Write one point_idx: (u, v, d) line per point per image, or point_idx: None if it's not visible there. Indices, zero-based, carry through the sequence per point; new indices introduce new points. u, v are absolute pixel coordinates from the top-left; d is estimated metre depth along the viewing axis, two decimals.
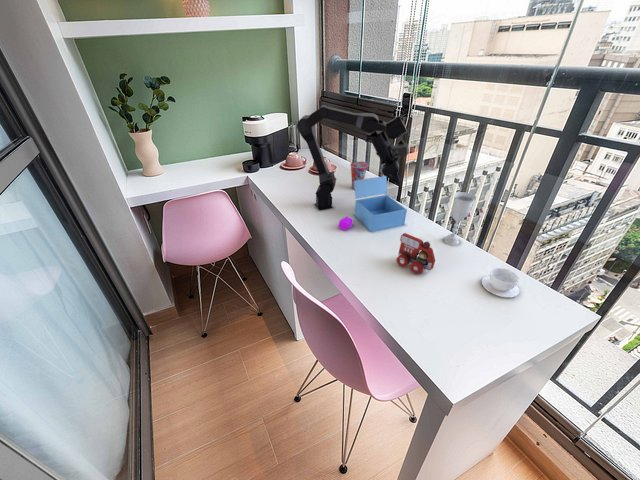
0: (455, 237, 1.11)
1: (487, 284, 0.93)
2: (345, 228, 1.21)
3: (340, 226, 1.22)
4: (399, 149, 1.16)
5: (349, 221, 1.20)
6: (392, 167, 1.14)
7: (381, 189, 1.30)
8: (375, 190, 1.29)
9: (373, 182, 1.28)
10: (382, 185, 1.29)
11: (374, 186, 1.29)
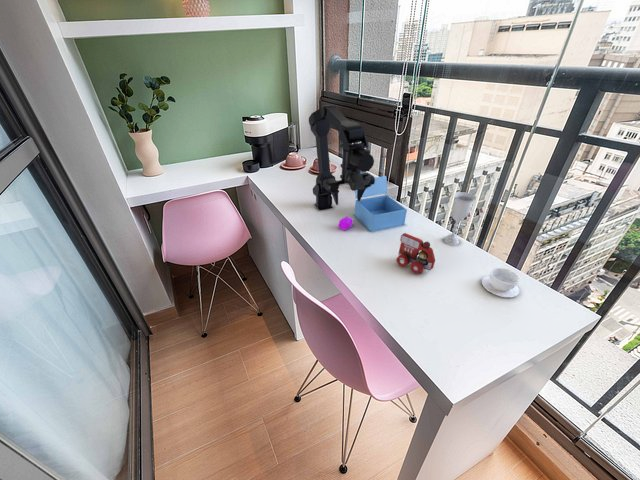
0: (455, 237, 1.11)
1: (487, 284, 0.93)
2: (345, 228, 1.21)
3: (340, 226, 1.22)
4: (350, 179, 1.06)
5: (349, 221, 1.20)
6: (326, 185, 1.09)
7: (381, 189, 1.30)
8: (375, 190, 1.29)
9: None
10: (382, 185, 1.29)
11: (374, 186, 1.29)
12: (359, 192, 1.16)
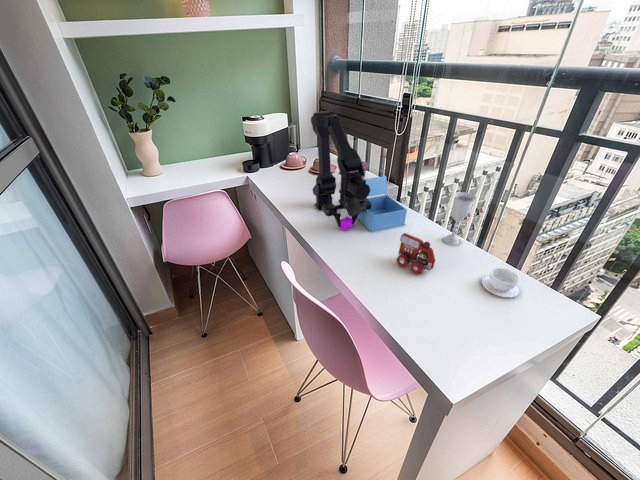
0: (455, 237, 1.11)
1: (487, 284, 0.93)
2: (345, 228, 1.21)
3: (340, 226, 1.22)
4: (347, 205, 1.11)
5: (349, 221, 1.20)
6: (325, 210, 1.15)
7: (381, 189, 1.30)
8: (375, 190, 1.29)
9: (373, 182, 1.28)
10: (382, 185, 1.29)
11: (374, 186, 1.29)
12: (353, 216, 1.22)
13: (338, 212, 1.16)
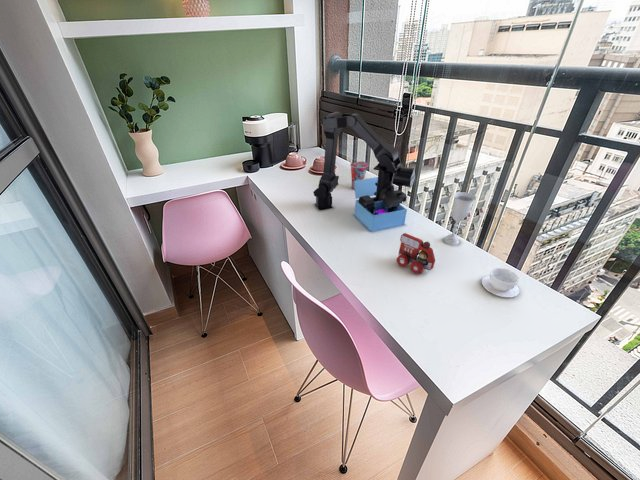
0: (455, 237, 1.11)
1: (487, 284, 0.93)
2: None
3: None
4: (385, 198, 1.15)
5: None
6: (362, 203, 1.18)
7: None
8: (375, 190, 1.29)
9: (373, 182, 1.28)
10: None
11: (374, 186, 1.29)
12: (390, 208, 1.25)
13: None
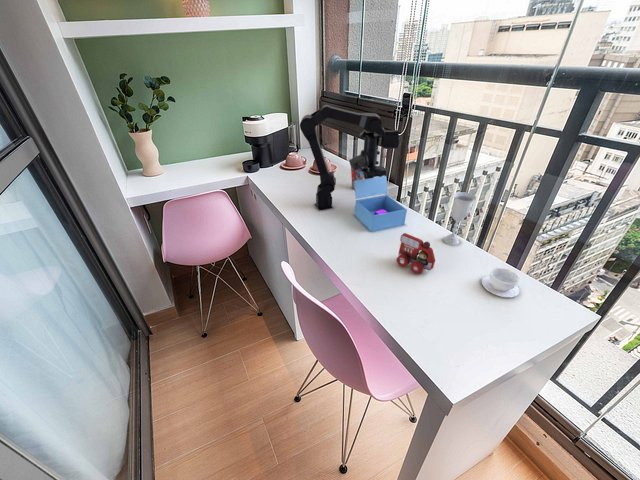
0: (455, 237, 1.11)
1: (487, 284, 0.93)
2: None
3: None
4: None
5: None
6: None
7: (381, 189, 1.30)
8: (375, 190, 1.29)
9: (373, 182, 1.28)
10: (382, 185, 1.29)
11: (374, 186, 1.28)
12: None
13: (362, 167, 1.28)
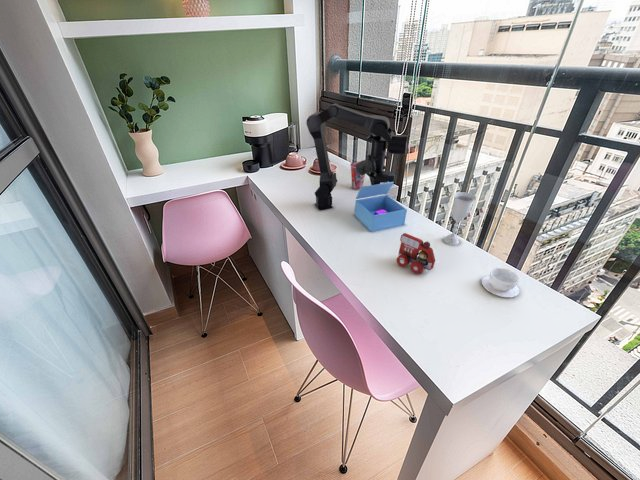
0: (455, 237, 1.11)
1: (487, 284, 0.93)
2: None
3: None
4: None
5: None
6: None
7: (383, 191, 1.29)
8: (377, 192, 1.28)
9: (378, 187, 1.25)
10: (386, 189, 1.27)
11: (378, 190, 1.26)
12: None
13: (369, 171, 1.23)
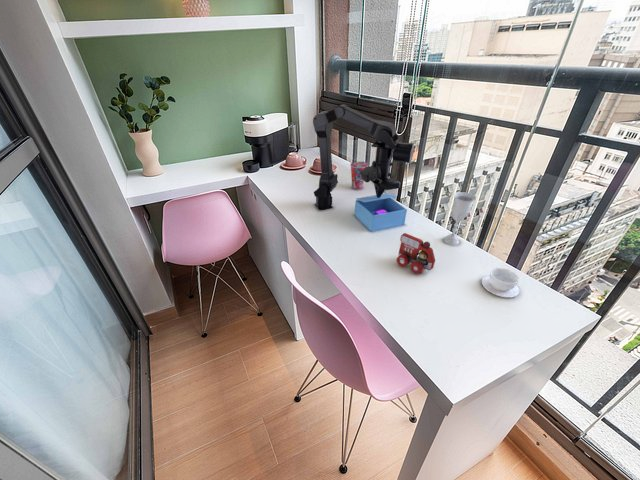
0: (455, 237, 1.11)
1: (487, 284, 0.93)
2: None
3: None
4: None
5: None
6: None
7: None
8: None
9: None
10: None
11: None
12: None
13: (373, 178, 1.21)
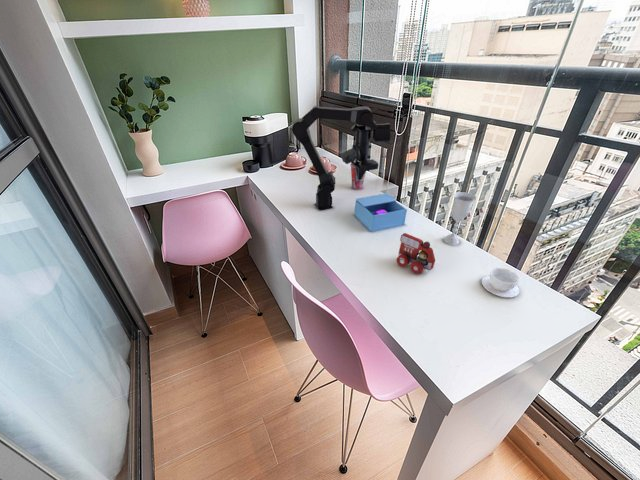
0: (455, 237, 1.11)
1: (487, 284, 0.93)
2: None
3: None
4: None
5: None
6: None
7: None
8: None
9: None
10: None
11: None
12: None
13: (354, 161, 1.27)
